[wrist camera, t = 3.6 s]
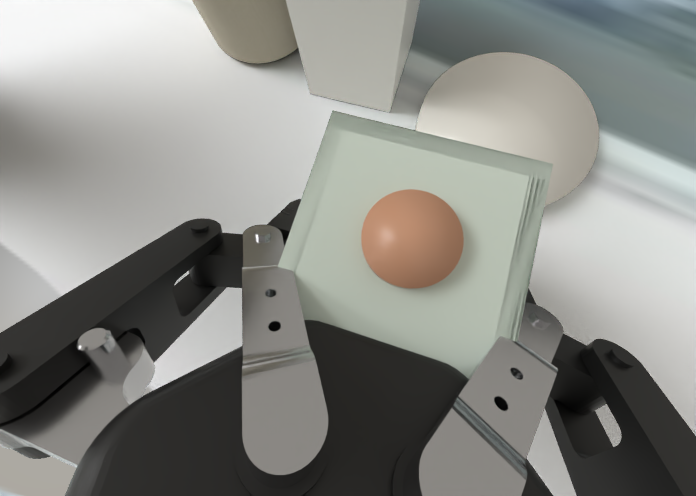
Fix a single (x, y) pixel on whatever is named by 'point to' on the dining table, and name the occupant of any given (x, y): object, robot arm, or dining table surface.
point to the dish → (516, 114)
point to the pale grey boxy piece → (416, 239)
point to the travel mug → (250, 28)
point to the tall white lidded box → (354, 47)
